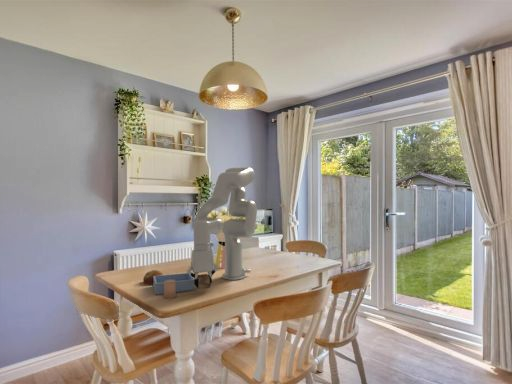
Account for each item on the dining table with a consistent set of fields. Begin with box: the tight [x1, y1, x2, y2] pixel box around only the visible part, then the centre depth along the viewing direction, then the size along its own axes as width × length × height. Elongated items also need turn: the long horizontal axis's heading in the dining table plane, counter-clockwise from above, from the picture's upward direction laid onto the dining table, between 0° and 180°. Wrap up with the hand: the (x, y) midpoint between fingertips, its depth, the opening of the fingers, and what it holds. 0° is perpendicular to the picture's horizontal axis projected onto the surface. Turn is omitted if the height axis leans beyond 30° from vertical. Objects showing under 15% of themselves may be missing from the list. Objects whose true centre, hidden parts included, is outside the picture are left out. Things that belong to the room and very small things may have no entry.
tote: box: [152, 272, 195, 296], centre depth 146 cm, size 18×14×5 cm
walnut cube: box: [197, 273, 211, 290], centre depth 140 cm, size 5×5×5 cm
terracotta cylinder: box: [163, 280, 177, 300], centre depth 134 cm, size 5×5×7 cm
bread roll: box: [143, 269, 164, 286], centre depth 156 cm, size 10×10×8 cm
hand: (203, 285), depth 140 cm, fingers closed on walnut cube, 5 cm apart
